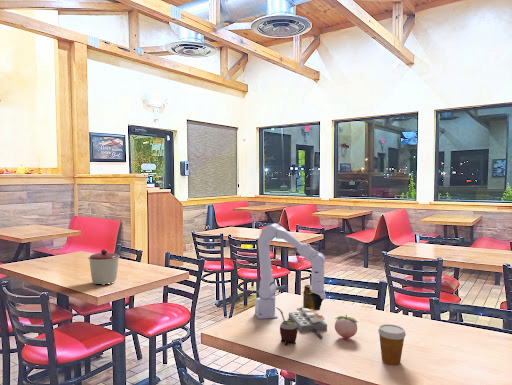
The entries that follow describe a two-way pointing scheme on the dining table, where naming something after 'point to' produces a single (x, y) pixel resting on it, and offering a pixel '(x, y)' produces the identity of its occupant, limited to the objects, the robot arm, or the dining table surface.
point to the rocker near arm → (307, 310)
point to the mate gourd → (288, 331)
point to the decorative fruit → (346, 326)
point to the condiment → (307, 299)
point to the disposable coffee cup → (391, 343)
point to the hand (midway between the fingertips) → (317, 309)
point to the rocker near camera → (317, 319)
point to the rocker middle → (312, 314)
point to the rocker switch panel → (307, 323)
